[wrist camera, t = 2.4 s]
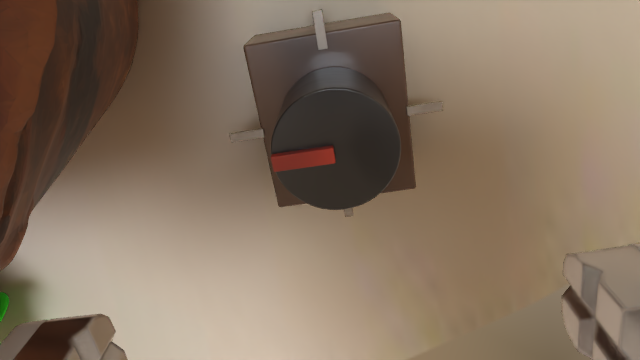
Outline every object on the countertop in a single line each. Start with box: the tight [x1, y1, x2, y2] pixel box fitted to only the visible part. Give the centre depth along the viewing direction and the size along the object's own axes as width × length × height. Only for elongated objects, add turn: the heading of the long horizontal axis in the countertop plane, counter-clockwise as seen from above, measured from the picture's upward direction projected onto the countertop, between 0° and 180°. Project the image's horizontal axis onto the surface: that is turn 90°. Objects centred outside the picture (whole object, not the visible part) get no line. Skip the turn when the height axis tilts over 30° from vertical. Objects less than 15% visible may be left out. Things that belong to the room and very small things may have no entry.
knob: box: [271, 67, 401, 210], centre depth 18 cm, size 4×4×4 cm
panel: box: [229, 10, 443, 217], centre depth 21 cm, size 9×9×3 cm
